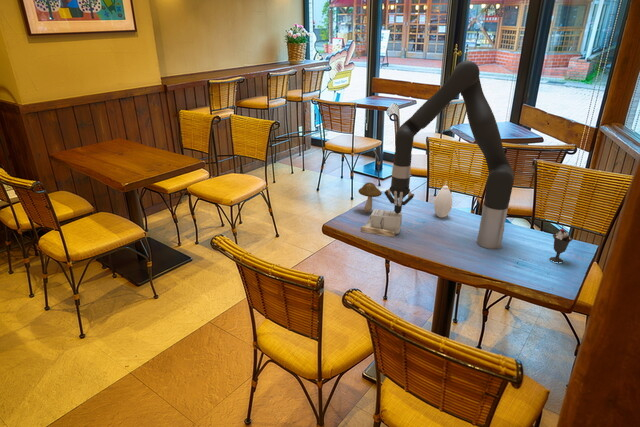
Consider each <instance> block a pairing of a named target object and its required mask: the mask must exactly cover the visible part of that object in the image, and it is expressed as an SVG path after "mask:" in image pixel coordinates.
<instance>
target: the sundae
mask: <svg viewBox="0 0 640 427" xmlns="http://www.w3.org/2000/svg"><path fill="white" fill-rule="evenodd" d="M560 225H561V228H560V229H559V231H557V232H556V233H553V234H552V238H553V239H554V241H553V250H554V251H555V253H556V254H555V256H551V257H550V258H549V261H550V260H552V261H554V262H558V263H559V262H563V261H564V260H563V259H562V258H560V256H561V254H563V253H565V252H566V250H567V248H568V246H569V244H570V242H572V241H573V239H574V238H572V237H571V236H570V235H569V233H568V231H566V230H565V229H564V225H563V223H560Z"/></svg>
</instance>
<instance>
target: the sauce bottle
mask: <svg viewBox="0 0 640 427" xmlns="http://www.w3.org/2000/svg"><path fill="white" fill-rule="evenodd" d="M447 183H448V182H447V180H446V181H445V184H444V185H442V187H441V189H440V190H439V191H438V193H437V195H436V197H435V199H434V203H433V204H434V205H433V209H434V212H435V214H436V215H437V216H438V217H439V218H442V219H443V218H445V217H447V216H448V215H449V214H450V212H451V211H452V207H453V197H452V192H451V189H449V186H448V185H447Z"/></svg>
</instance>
